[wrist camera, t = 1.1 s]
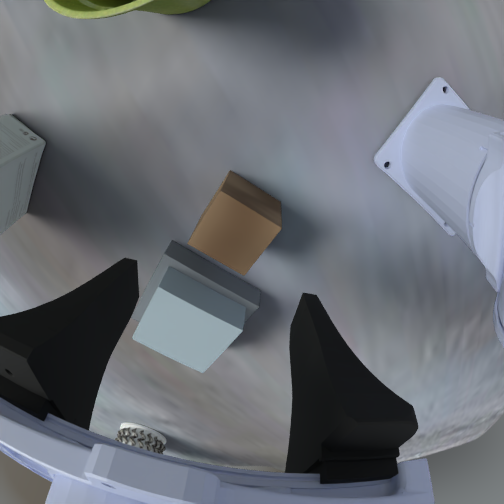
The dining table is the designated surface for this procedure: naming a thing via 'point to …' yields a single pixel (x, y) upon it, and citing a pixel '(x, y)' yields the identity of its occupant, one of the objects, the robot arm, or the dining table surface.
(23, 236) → the dining table surface
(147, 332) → the top slab
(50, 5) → the plant pot
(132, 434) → the decorative candle
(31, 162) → the skincare box
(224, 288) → the base slab
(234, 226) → the walnut cube
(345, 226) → the dining table surface
